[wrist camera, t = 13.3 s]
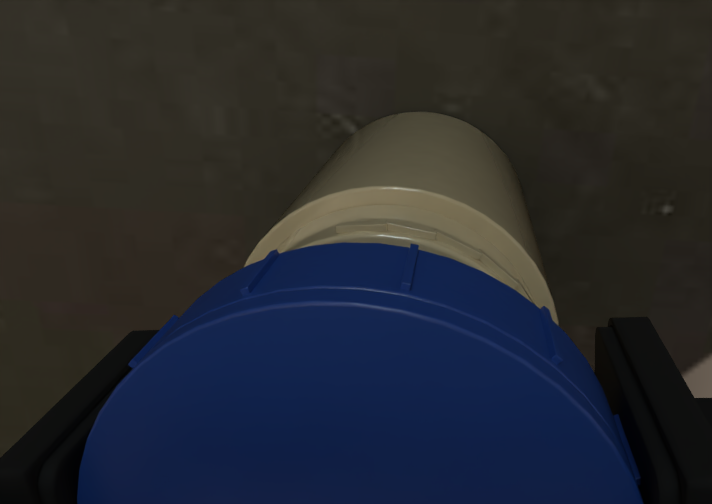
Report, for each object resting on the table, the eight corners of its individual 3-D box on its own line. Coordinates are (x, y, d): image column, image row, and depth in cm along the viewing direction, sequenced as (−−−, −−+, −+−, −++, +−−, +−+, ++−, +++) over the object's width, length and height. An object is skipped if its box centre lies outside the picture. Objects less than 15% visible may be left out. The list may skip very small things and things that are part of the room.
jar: (527, 307, 20) (572, 547, 12) (328, 313, 22) (231, 536, 13) (522, 101, 18) (574, 202, 9) (302, 120, 19) (165, 226, 11)
